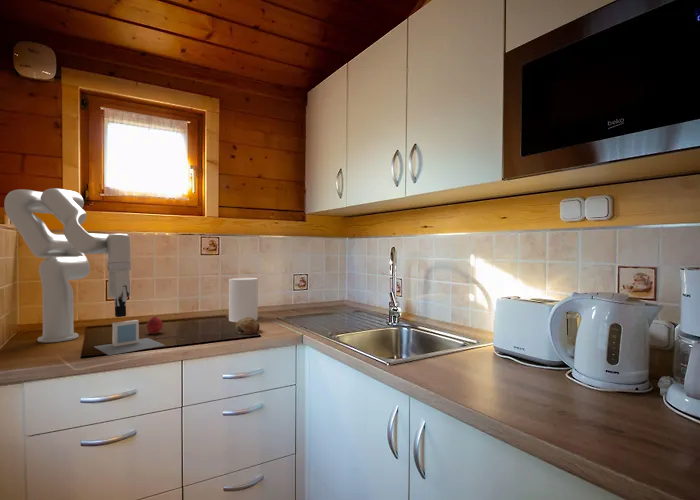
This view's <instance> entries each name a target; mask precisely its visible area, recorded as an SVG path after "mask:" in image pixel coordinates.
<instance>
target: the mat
mask: <svg viewBox="0 0 700 500" xmlns="http://www.w3.org/2000/svg"><path fill="white" fill-rule="evenodd" d="M158 347H165V344H164V343H162V342H158V341H156V340H154V339H152V338H148V337H146V338H139V342H138V343H132V344H126V345H120V346H113V345H112V343H108V344H102V345H97V346H96V345H95V346H93V348H95V349H96V350H99V351H100V352H102V353H104V354H106V355H107V356H114V355H118V354H125V353H130V352H136V351H141V350H147V349H153V348H158Z"/></svg>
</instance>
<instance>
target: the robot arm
mask: <svg viewBox="0 0 700 500" xmlns="http://www.w3.org/2000/svg"><path fill="white" fill-rule="evenodd" d="M3 203H4V210H5V211H4V212H5V214H6V216H7V218H8V219H9V220H10V222H11V224H13V226H14V227H15V228H16V230H17V231H18V232H19V234H20V235H21V236H20V237H22V238H23V240H24V242H25V244H26V245H27V247H28V249H29V250H30V251H31V253H32V255H34V256H35V257H36V258H39V259H44V260H42V261H41V262H40V264H39V267H38V273H39V277H40V282H41V289H42V335H41V336H39V337H38V338H37V342H39V343H43V344H44V343H46V344H47V343H48V344H49V343H59V342H60V343H61V342H67V341H71V340H75V339H77V338H79V333H77V332H75V330H74V329H75V327H74V326H75V325H74V316H75V315H74V306H75V305H74V289H73V287H72V285H71V283H70V282H69V281H76V280H82V279H85V278H86V277H88V275H89V274H90V272H91V265H90V262H89V260H88V258H87V256H86V255H105V254H106V257H107V258H106V259H107V260H106V261H107V272H108V276H107V277H108V278H107V279H108V280H107V296H108V297H109V298H112V299H113V301H114V317H115V318H122V317H126V316H127V302H128V298H129V297H131V278H130V271H132V269H131V268H132V267H131V266H132V265H131V264H132V263H131V262H132V260H131V257H132V254H131V237H130V235H129V234H128V233H108V234H107V233H89V232H88V231H86V230H85V229H84V227H83V226H82V225H83V223H84V222H85V221H86V220H87V216H88V215H87V213H86V211H85V210H84V209H83V208H84V204H85V202H84V198H83V196H82V194H80V193H79V192H77V191H75V190H74V191H73V190H69V189H65V188H64V189H63V188H57V187H56V188H47V189H45V190H43V191H37V190H32V189H21V188H20V189H13V190H11V191H9V192H8V193H7V195H6V196H5V198H4V202H3ZM34 213H35V214H34ZM36 213H37V214H50V215H51V214H52V215H53V216H54V217H55V218H56V219H57V220H58V221H59V222H60V223H61V224H62V225H63V233H53V232H52V231H51V230H50V229H49V228H48V226H47V224H46V223H45V222H44V221H43V220H42V219H41V218H40V217H39V216H37V215H36Z"/></svg>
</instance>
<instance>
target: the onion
mask: <svg viewBox="0 0 700 500" xmlns="http://www.w3.org/2000/svg"><path fill="white" fill-rule="evenodd" d="M163 324H164V323H163V321H162V320H161V319H160V318H159V317H158V315H157V314H154V315H153V316H152V317H151V318H150V319H149V320H148V321H147V323H146V330H147V332H149V333H150V334H151V335H156V334H158V333H160V332H161V331H162V329H163V326H164V325H163Z"/></svg>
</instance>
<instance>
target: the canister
mask: <svg viewBox="0 0 700 500" xmlns="http://www.w3.org/2000/svg"><path fill="white" fill-rule="evenodd" d="M258 279H259V278H257V277H231V278H229V279H228V322H232V323H237V322H238V321H239V320H241V319H243V318H246V317H251V318H253V319H255V320H256V321H258V316H259V315H258V310H259V309H258V308H259V307H258V304H259V303H258V302H259V301H258V300H259V296H258V287H259V286H258V284H259V283H258V281H259V280H258Z"/></svg>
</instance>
